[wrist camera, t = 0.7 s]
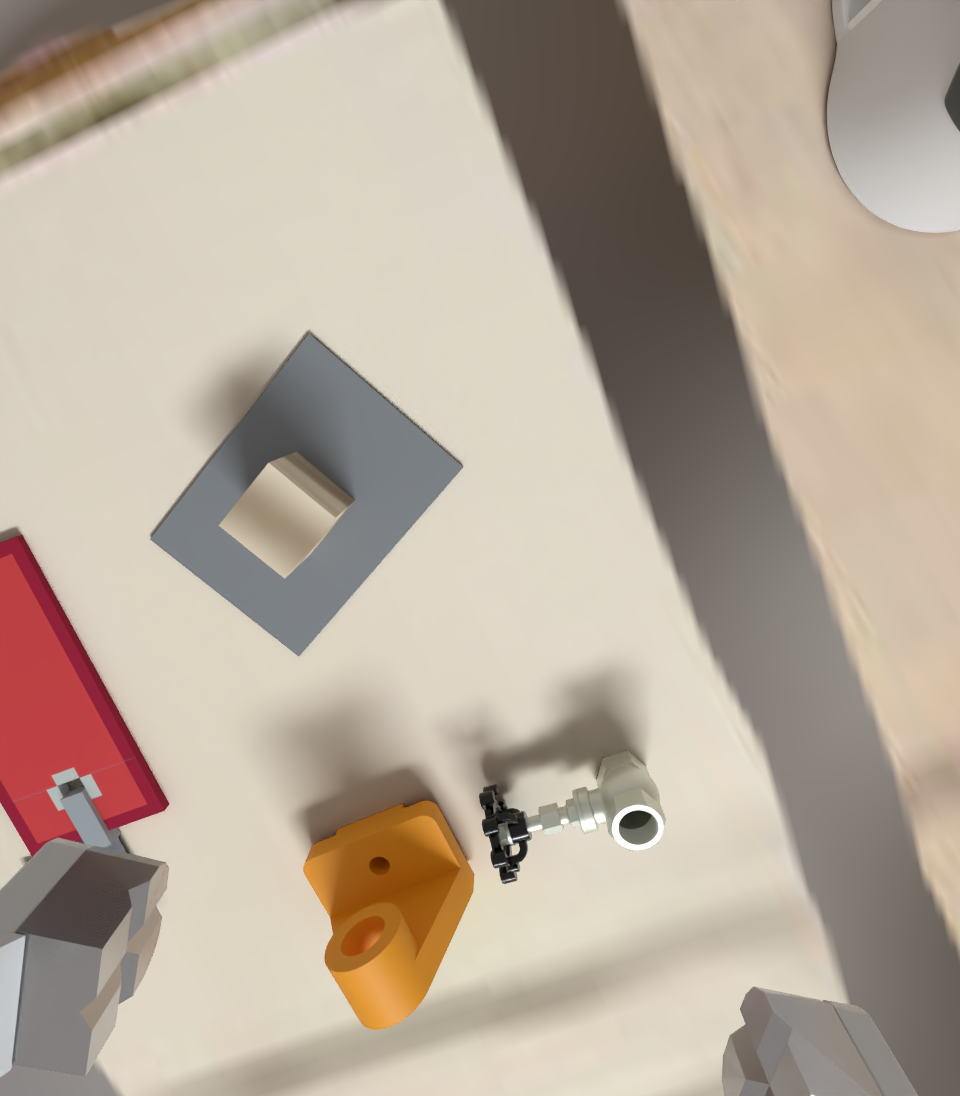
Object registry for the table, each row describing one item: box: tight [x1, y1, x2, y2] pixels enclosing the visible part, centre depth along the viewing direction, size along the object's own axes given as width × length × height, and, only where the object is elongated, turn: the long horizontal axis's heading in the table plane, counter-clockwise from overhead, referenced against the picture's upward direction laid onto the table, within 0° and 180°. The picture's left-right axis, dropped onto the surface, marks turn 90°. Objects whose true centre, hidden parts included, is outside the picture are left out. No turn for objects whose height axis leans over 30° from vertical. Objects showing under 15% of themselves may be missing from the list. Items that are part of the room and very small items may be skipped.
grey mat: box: [150, 334, 463, 656], centre depth 49 cm, size 18×13×1 cm
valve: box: [479, 751, 666, 884], centre depth 50 cm, size 7×7×12 cm
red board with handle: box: [0, 535, 169, 907], centre depth 53 cm, size 30×3×15 cm
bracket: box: [303, 801, 474, 1029], centre depth 49 cm, size 11×7×12 cm, turn 115°
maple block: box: [219, 452, 355, 579], centre depth 46 cm, size 5×5×6 cm
